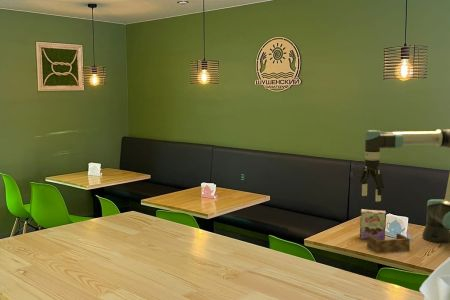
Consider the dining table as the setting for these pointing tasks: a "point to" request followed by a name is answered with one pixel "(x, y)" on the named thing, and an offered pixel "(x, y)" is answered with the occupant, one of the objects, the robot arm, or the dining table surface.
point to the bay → (389, 244)
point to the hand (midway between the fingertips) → (371, 198)
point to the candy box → (372, 224)
